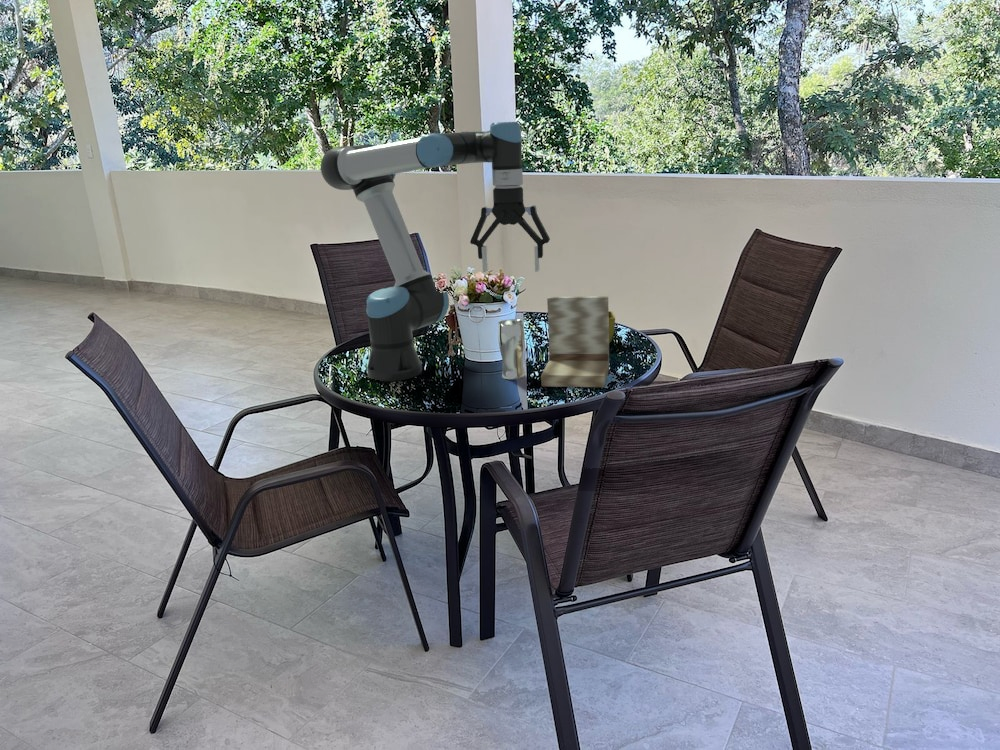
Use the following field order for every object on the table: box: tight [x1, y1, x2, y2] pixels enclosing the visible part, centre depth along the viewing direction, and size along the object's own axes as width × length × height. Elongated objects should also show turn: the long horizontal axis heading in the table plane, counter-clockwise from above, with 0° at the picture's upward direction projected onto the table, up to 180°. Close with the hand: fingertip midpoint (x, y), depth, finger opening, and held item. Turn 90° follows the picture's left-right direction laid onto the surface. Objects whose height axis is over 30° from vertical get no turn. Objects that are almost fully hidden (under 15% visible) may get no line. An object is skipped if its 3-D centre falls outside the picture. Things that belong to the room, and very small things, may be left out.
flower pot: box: [609, 310, 616, 344], centre depth 230 cm, size 9×9×9 cm
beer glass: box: [497, 318, 526, 381], centre depth 203 cm, size 7×7×15 cm
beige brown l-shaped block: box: [540, 295, 610, 388], centre depth 198 cm, size 16×16×20 cm
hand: (511, 271), depth 197 cm, fingers open, 13 cm apart
